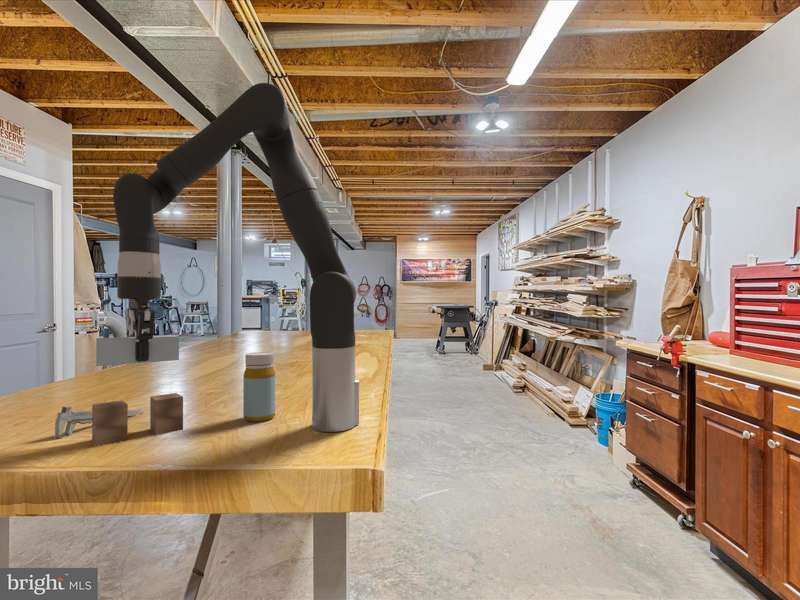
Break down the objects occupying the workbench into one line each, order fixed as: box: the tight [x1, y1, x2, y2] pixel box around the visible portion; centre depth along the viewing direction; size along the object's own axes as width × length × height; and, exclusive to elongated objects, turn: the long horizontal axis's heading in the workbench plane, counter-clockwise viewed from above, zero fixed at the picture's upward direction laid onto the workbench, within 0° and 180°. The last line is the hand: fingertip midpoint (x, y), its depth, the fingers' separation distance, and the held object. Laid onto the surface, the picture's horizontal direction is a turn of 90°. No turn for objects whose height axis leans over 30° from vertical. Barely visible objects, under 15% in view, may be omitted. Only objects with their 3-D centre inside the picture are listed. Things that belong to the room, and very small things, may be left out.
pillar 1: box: [91, 399, 129, 447], centre depth 82 cm, size 5×5×7 cm
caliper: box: [54, 406, 145, 439], centre depth 92 cm, size 20×1×6 cm, turn 166°
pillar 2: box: [149, 392, 184, 436], centre depth 89 cm, size 5×5×7 cm
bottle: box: [242, 351, 276, 423], centre depth 97 cm, size 7×7×15 cm
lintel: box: [95, 334, 180, 367], centre depth 85 cm, size 14×4×5 cm, turn 126°
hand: (139, 359), depth 85 cm, fingers closed on lintel, 4 cm apart
